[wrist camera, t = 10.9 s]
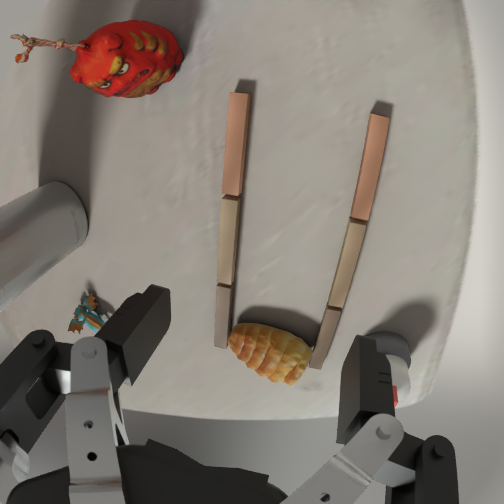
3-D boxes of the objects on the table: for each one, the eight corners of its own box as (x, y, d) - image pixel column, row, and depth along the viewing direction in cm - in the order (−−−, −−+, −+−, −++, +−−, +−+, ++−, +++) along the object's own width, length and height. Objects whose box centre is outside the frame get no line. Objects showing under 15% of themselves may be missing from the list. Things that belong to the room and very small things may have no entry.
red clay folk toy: (140, 111, 28) (19, 141, 15) (107, 61, 26) (-16, 68, 13) (200, 61, 24) (87, 47, 11) (161, 10, 22) (43, -23, 9)
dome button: (348, 386, 34) (347, 419, 29) (365, 350, 31) (367, 386, 27) (395, 392, 33) (398, 424, 29) (416, 358, 30) (422, 392, 26)
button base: (344, 369, 37) (343, 381, 35) (361, 327, 33) (362, 339, 31) (395, 376, 36) (396, 388, 34) (417, 336, 32) (420, 348, 30)
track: (217, 339, 39) (214, 346, 38) (234, 92, 25) (230, 92, 24) (321, 362, 37) (320, 369, 36) (387, 117, 23) (389, 118, 22)
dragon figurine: (123, 318, 48) (84, 288, 43) (141, 327, 42) (96, 294, 38) (103, 352, 45) (62, 324, 41) (117, 366, 39) (70, 335, 35)
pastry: (224, 343, 38) (214, 365, 35) (243, 306, 35) (233, 330, 32) (293, 372, 38) (288, 396, 35) (319, 340, 35) (316, 366, 31)
